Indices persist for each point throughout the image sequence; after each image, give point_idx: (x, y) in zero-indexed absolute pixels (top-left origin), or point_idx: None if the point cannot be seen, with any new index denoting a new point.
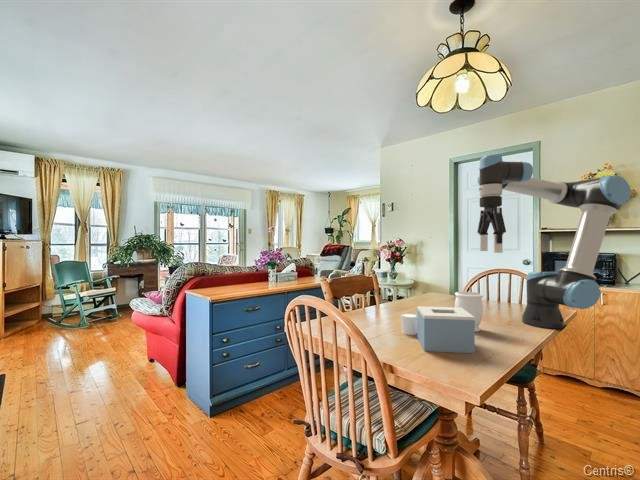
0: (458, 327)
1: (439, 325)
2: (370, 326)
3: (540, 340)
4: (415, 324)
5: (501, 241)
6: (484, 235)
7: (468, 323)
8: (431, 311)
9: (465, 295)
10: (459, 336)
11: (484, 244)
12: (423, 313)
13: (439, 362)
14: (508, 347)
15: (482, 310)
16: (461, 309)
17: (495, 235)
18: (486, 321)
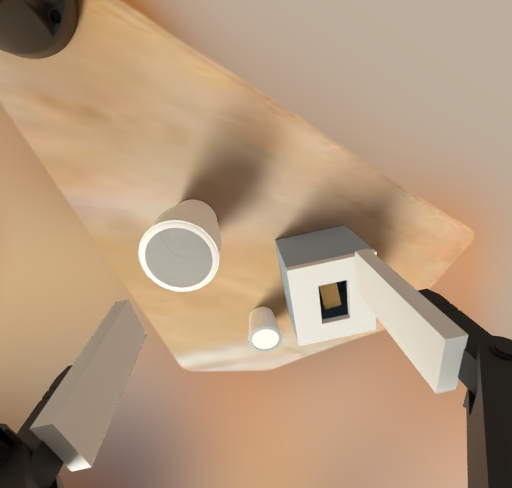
0: None
1: None
2: (246, 368)
3: (224, 70)
4: (273, 320)
5: (442, 301)
6: (75, 437)
7: None
8: (341, 321)
9: (216, 268)
10: None
11: (116, 353)
12: (361, 332)
13: None
14: (298, 161)
15: (197, 209)
16: (308, 271)
17: (452, 377)
18: (91, 171)
